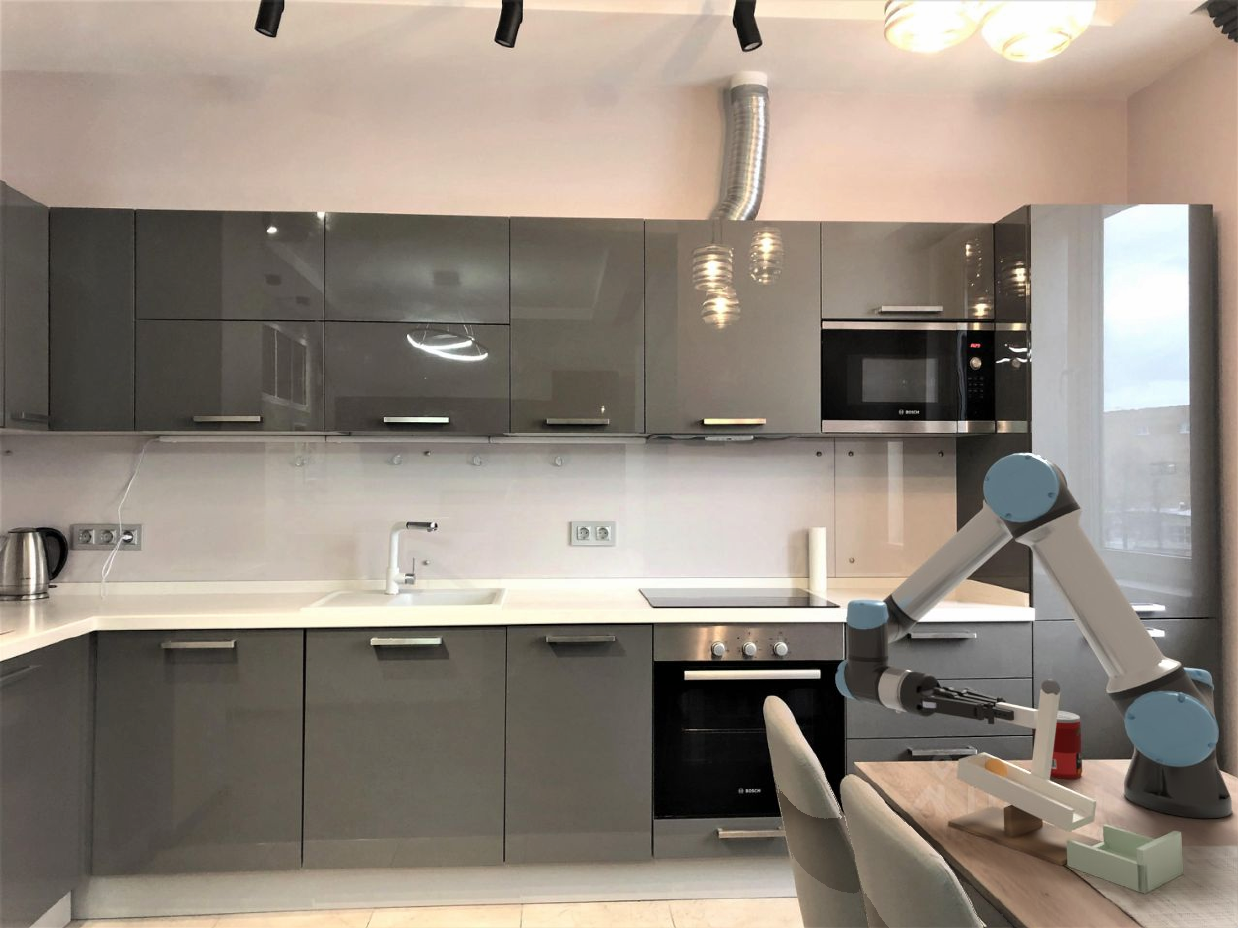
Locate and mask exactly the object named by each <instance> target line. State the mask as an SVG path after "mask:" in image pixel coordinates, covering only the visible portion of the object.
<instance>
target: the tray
mask: <svg viewBox="0 0 1238 928" xmlns="http://www.w3.org/2000/svg"><path fill="white" fill-rule="evenodd" d="M1102 835H1103V836H1102V838H1103V842H1101V843H1099V844H1096V845H1094V846H1092V847H1091V846H1088V845H1085V844H1082V843H1079V842H1076V841H1073V840H1070V839H1069V840H1067V864H1066V865H1067V867H1069V868H1072V869H1074V868H1075V870H1076V871H1077V870H1078V871H1080V872H1083V873H1086V874H1088V875H1092V876H1094V877H1096V878H1099V877H1100V879H1102V878H1103V879H1102V880H1105V881H1107V882H1110V881H1111V883H1113V884H1116V885H1119V886H1122V887H1124V886H1125V888H1128V889H1130V890H1133V891H1136V892H1139V893H1141V894H1143V895H1144V894H1145V895H1146V894H1148V893H1150V892H1151V891H1154V890H1156V889H1157V888H1159V887H1160V886H1163V885H1165V884H1167V883H1168V882H1170V881H1172V880H1173V879H1175V878H1177V877H1179V876H1181V875H1183V874H1184V866H1183V865H1184V864H1183V844H1182V843H1183V842H1182V839H1183V838H1182V832H1181V831H1178V830H1173V831H1170V832H1169V833H1167V834H1165V835H1162V836H1160V837H1158V838H1152V837H1150V836H1146V835H1144V834H1143V835H1142V834H1139V833H1135V832H1132V831H1129V830H1126V829H1124V828H1123V829H1122V828H1119V827H1117V826H1114V825H1110V824H1107V823H1105V824H1103V825H1102Z"/></svg>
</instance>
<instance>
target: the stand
mask: <svg viewBox="0 0 1238 928" xmlns="http://www.w3.org/2000/svg"><path fill="white" fill-rule="evenodd" d="M1043 821H1044V820H1042V819H1040V818H1038V817H1036V816H1034V815H1032V814H1030V813H1028V812H1025V811H1023V810H1021V809H1019V808H1017V807H1015V806H1013V805H1011V804H1009V805H1007V806H1004V807H1003V808H999V807H997V806H994V805H991V806H988V807H985V808H982V809H979V810H977V811H973V812H971V813H968V814H964V815H962V816H958V817H955V818H953V819H950V820H948V821H947V825H948V826H950V827H953V828H956V829H958V830H961V831H964V832H967V833H970V834H972V835H975V836H978V837H980V838H984V839H987V840H989V841H992V842H994V843H998V844H1000V845H1003V846H1006V847H1009V848H1010V849H1014V850H1017V851H1019V852H1021V853H1025V854H1028V855H1031V856H1034V857H1036V858H1039V859H1042V860H1045V861H1047V862H1049V863H1053V864H1056V865H1058V866H1061V867H1063V866H1065V865H1067V840H1069V839H1070V840H1073V841H1076V842H1079V843H1082V844H1085V845H1088V846H1091V847H1092V846H1094V845H1096V844H1099V843H1101V842H1103V841H1104V840H1103V841H1102V840H1100V839H1099V840H1098V839H1097V838H1094V837H1090V836H1087V835H1084V834H1081V833H1078V832H1075V831H1070V832H1067V831H1065V830H1063V829H1061V828H1059V827H1057V826H1055V825H1053V824H1051V823H1048V822H1047V823H1046V822H1045V821H1044V822H1043Z"/></svg>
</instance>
